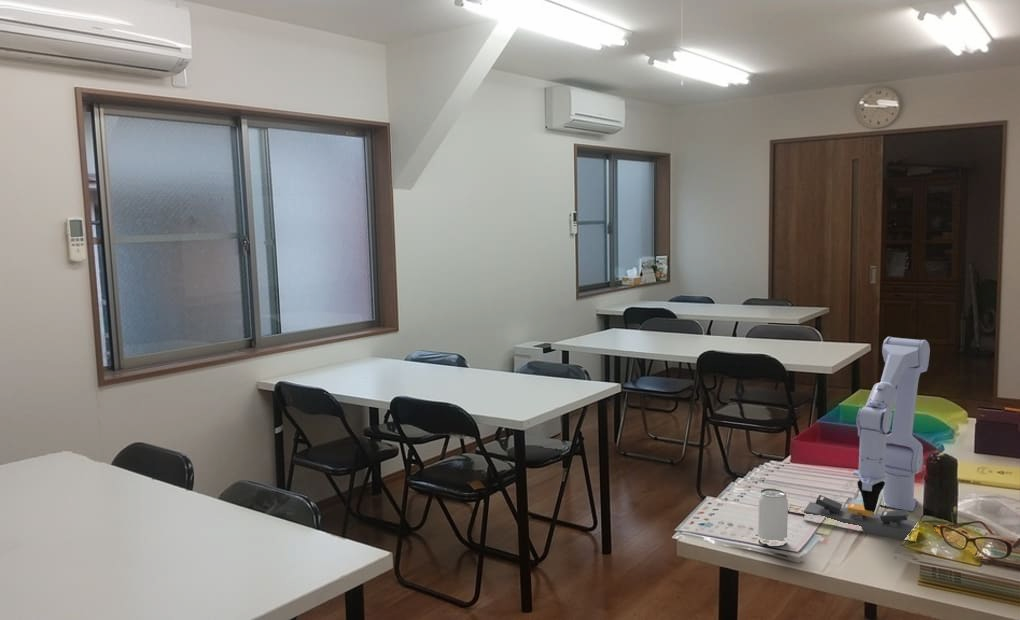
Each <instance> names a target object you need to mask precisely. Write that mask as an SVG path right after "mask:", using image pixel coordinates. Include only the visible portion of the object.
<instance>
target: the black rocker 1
mask: <svg viewBox="0 0 1020 620" xmlns="http://www.w3.org/2000/svg"><path fill="white" fill-rule="evenodd" d="M814 503H815V504H818V505H820V506H822V507H824V509H828V510H832V511H834V512H836V513H839V511H840V510H841V508H843V503H840V502H837V501H836V500H835V499H834V500H833V499H832V498H829V497H826V496H824V495H822V494H819V495H818V497H817V498H816V501H815V502H814Z"/></svg>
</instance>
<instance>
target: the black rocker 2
mask: <svg viewBox="0 0 1020 620" xmlns="http://www.w3.org/2000/svg"><path fill="white" fill-rule="evenodd" d="M880 515H881V516H880V518H881V521H893V522H897V521H904V520H909V511H908V510H888V511H887V510H885V511H883V510H882V511H881V513H880Z"/></svg>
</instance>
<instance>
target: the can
mask: <svg viewBox="0 0 1020 620" xmlns="http://www.w3.org/2000/svg"><path fill="white" fill-rule="evenodd" d="M757 508H758V509H757V511H758V513H757V514H758V515H757V516H758V517H757V521H758V522H757V537H758V536H759V537H760V538H762V539H766V540H782V539H784V538H786V537H787V538H788V515H789V512H788V508H789V500H788V498H787V493H786V492H785V491H784V490H782V489H777V488H763V489H761V490H760V494H759V496H758V507H757Z"/></svg>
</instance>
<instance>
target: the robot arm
mask: <svg viewBox="0 0 1020 620" xmlns="http://www.w3.org/2000/svg"><path fill="white" fill-rule="evenodd" d="M930 348H931V347H930V344H929V342H928V341H927V340H926V339H913V338H901V337H894V336H893V337H892V336H887V337H886V338H885V339H884V340H883V343H882V347H881V349H882V350H881V353H882V357H883V362H884V367H883V372H882V375H881V378H880V382H877V383H874V385H873V387H872V389H871V391H870V394H869V395H868V398H867V401H866V403H865V405H864V406H863V407H859V409H858V411H857V415H856V420H855V421H856V423H855V424H856V427H857V436H858V437H859V448H858V449H859V450H858V451H859V452H858V453H859V455H858V470H853V472H852V474H853V476H856V477H857V478H859V480H858V481H857V482H856V484H857V487H858V489H859V492H860V494H861V498H862V502H863V503H862V505H864V509H865V510H870V511H873V512H874V513H875V511H876V510H877V506H878V503H879V498H880V494H881V492H882V496H883V497H884V500H885V503H886V504H885V506H886V508H891V509H897V510H901V511H903V510H908V512H914V509H915V508H916V504H917V500H918V499H917V497H914V496H915V495H914V494H915V478H916V477H915V475H917V474H918V473H920V472H921V471H922V468H923V464H924V454H923V453H924V452H923V451H924V447H923V444H922V443H921V442H920V441H919V440H918V439H917V438H915V436H913V431H914V420H915V413H916V404H917V396H918V387H919V386H918V385H919V379H920V376H921V374H922V373H924V372H925V373H926V372H927V371H928V367H929V363H930V362H929V361H930V352H931V349H930ZM893 409H894V410H893ZM892 411H894V412H892ZM891 425H892V427H891ZM890 428H892V429H891V433H889V434H887V433H888V432H889V431H890ZM885 506H884V507H885Z"/></svg>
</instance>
